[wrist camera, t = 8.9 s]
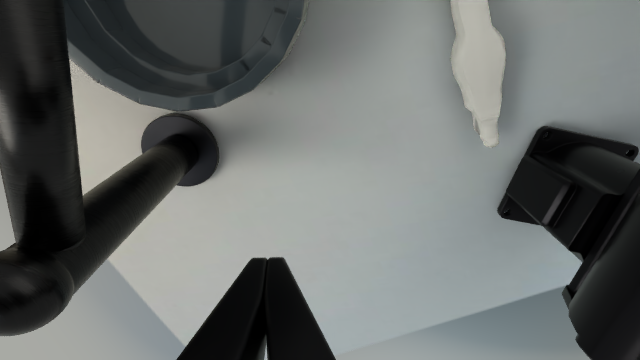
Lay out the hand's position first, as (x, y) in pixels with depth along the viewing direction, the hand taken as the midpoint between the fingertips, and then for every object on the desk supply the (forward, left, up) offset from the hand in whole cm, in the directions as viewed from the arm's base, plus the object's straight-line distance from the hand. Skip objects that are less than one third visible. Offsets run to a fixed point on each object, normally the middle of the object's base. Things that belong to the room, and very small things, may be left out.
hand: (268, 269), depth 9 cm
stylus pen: (-8, -8, -13) cm, 17 cm away
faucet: (+7, -2, -13) cm, 15 cm away
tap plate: (+7, +3, -13) cm, 15 cm away
